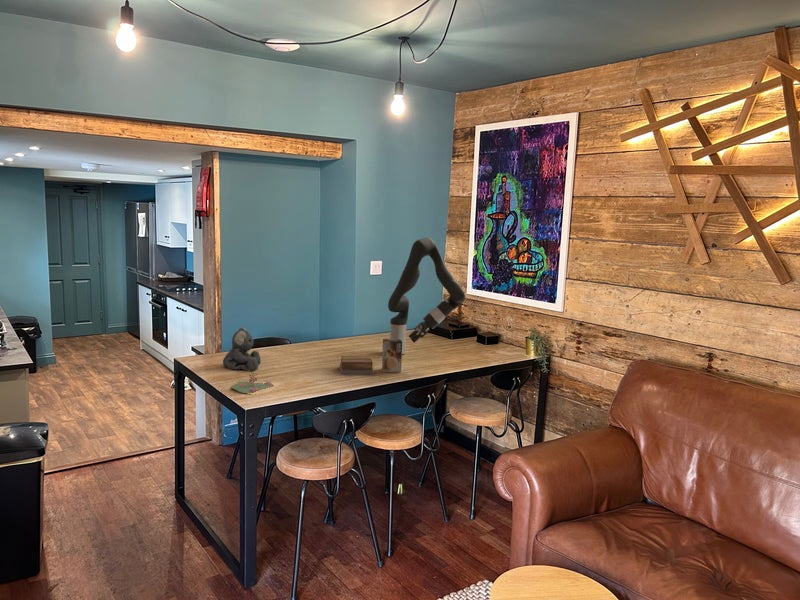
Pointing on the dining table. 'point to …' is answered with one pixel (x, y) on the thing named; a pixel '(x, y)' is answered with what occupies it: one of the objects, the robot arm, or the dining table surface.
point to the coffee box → (392, 355)
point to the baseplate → (356, 371)
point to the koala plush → (242, 352)
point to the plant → (251, 386)
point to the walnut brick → (356, 363)
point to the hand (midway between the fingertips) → (411, 339)
